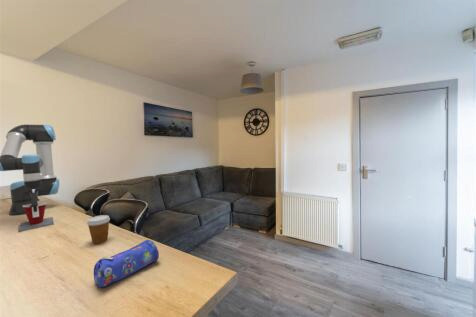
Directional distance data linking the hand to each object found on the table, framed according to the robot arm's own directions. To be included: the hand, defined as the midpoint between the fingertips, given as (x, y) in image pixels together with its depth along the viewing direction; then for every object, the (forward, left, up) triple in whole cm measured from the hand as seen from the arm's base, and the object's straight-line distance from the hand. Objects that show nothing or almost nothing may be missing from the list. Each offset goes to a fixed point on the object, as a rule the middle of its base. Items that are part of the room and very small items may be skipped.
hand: (36, 214), depth 128 cm
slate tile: (0, 0, -7) cm, 7 cm away
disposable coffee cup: (+56, +23, -7) cm, 61 cm away
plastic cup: (0, 0, -6) cm, 6 cm away
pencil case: (+94, +25, -7) cm, 97 cm away
